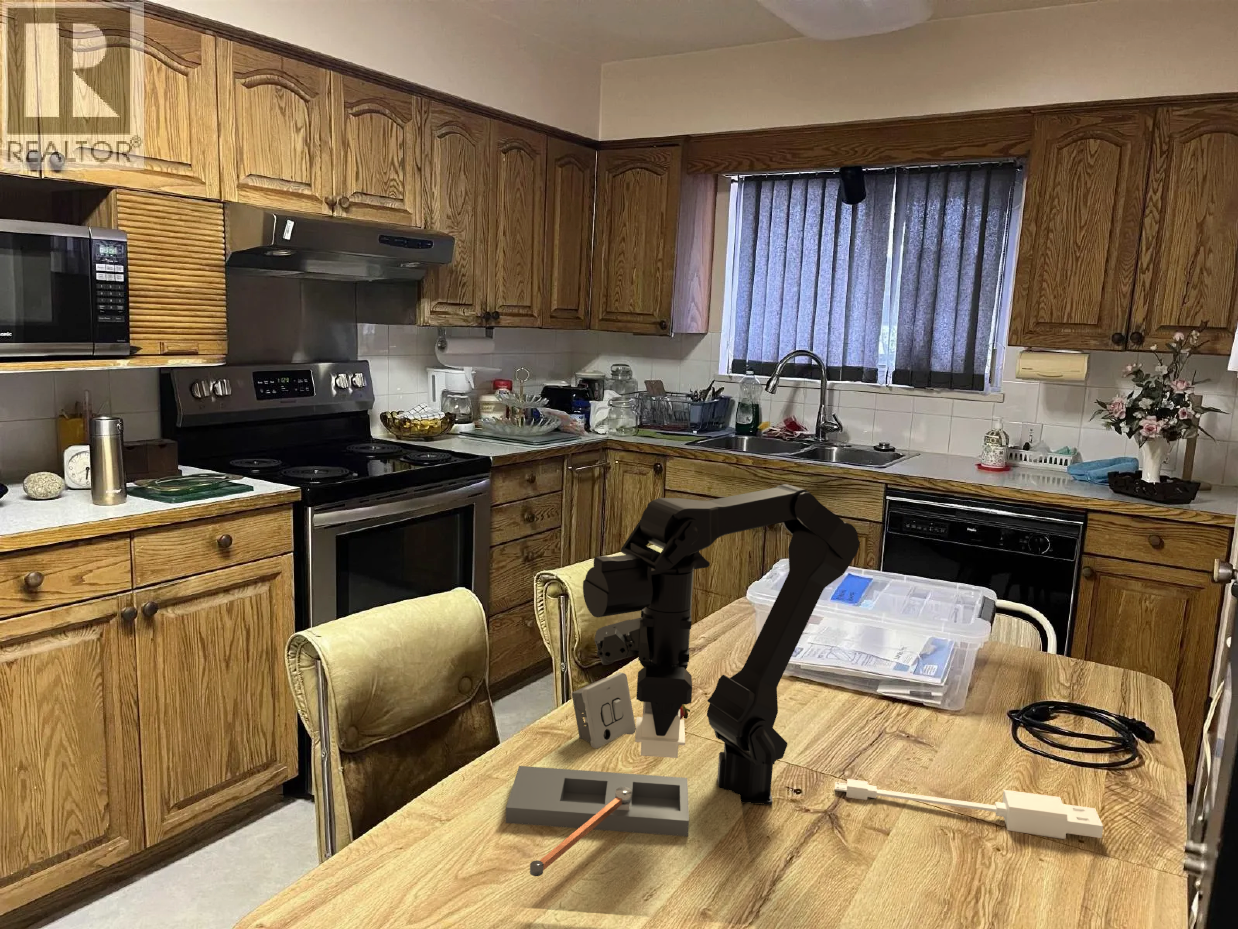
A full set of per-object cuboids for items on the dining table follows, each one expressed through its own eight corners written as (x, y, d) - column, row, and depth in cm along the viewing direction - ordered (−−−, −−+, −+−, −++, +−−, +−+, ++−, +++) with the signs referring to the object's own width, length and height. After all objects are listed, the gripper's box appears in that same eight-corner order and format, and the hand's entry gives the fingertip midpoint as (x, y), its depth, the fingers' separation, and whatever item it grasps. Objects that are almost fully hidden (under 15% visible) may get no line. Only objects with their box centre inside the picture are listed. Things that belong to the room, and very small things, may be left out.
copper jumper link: (620, 794, 113) (621, 785, 112) (634, 799, 112) (635, 790, 111) (524, 873, 96) (525, 862, 96) (540, 880, 95) (540, 869, 95)
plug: (683, 738, 116) (685, 693, 115) (683, 761, 110) (686, 715, 109) (635, 734, 116) (638, 690, 115) (634, 758, 110) (636, 711, 109)
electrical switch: (596, 756, 129) (594, 693, 128) (569, 747, 133) (567, 685, 132) (637, 734, 137) (635, 674, 136) (610, 726, 140) (608, 667, 139)
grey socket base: (685, 799, 119) (687, 772, 119) (687, 843, 109) (689, 815, 109) (518, 787, 120) (519, 760, 120) (505, 830, 110) (506, 801, 110)
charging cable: (834, 788, 126) (836, 766, 125) (1092, 824, 118) (1094, 800, 117) (833, 807, 121) (834, 784, 121) (1102, 846, 113) (1104, 821, 112)
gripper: (605, 577, 119) (600, 690, 122) (594, 628, 101) (589, 759, 104) (691, 582, 119) (684, 695, 121) (695, 634, 100) (687, 766, 103)
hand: (660, 726), depth 112 cm, fingers closed on plug, 4 cm apart
